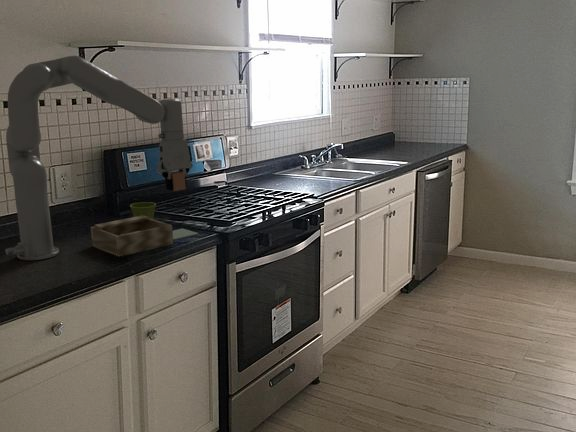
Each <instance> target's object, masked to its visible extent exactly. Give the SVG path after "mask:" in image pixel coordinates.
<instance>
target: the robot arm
mask: <svg viewBox="0 0 576 432" xmlns="http://www.w3.org/2000/svg"><path fill="white" fill-rule="evenodd" d="M71 84H73V85H74V86H76V87H78V88H79V89H82V90H84V91H86V92H87V93H89V94H90V95H91V96H92V95H93V97H96V98H98V99H99V100H101V101H104V102H105V103H107V104H110V105H113V106H116V107H119V108H121V109H123V110H125V111H127V112H129V113H131V114H133V115H134V116H135V117H136V119H137V120H139V121H141V122H143V123H146V124H151V125H155V124H156V125H157V124H159V123H160V133H158V135H157V137H158V138H159V139H160V141H159V147H158V166H157V168H155V169H156V170H155V171H156V173H158V174H159V175H161V176H162V177H163V179H164V180H165V187H166V190H167V191H172V192H174V191H173V181H172V179H171V174H172V171H182V172H185V186H186V187H187V177H188V173H189V172H190V170H191V169H192V168H193V167H194V164H193V163H192V161H191V155H190V149H189V144H188V141H187V138H185V134H184V121H183V106H182V101H181V100H180V99H179V98H164V99H161V100H158V99H155V98H153V97H151V96H149V95H148V94H147V93H144V92H143V91H141V90H139V89H138V88H135V87H134V86H131V85H130V84H128V83H127V82H125V81H123V80H121V79H120V78H117V77H116V76H115V75H113V74H111V73H109V72H108V71H106V70H104V69H103V68H101V67H99V66H97V65H96V64H94V63H93V62H91V61H90V60H87V59H86V58H83V57H81V56H79V55H67V56H65V57H60V58H56V59H55V58H54V59H50V60H46V61H41V62H35V63H34V62H33V63H30V64H28V65H26V66H25V67H24V68H23V69H22V70H21V71H20V72H19V73H18V74H16V76H15V77H14V78H13V80H12V82H11V83H10V86H9V88H8V92H7V115H8V126H7V128H6V132H5V133H6V134H5V137H6V138H5V139H6V141H5V142H6V150H7V158H8V159H7V160H8V167H9V168H8V169H9V172H10V175H11V177H12V180H13V188H14V189H13V190H14V197H15V198H14V199H15V206H16V207H15V208H16V213H17V222H18V230H19V239H20V242H17V245H15V246H14V247H8V248H5V254H6V255H7V256H8V255H16V258H17V259H18V258H19V260H22V261H38V260H40V261H41V260H46V259H50V258H53V257H56V256H57V255H58V254H60V248H59V247H56V246H54V239H53V230H52V229H53V228H52V222H51V221H52V220H51V213H50V205H49V196H48V193H49V192H48V177H47V176H48V175H47V170H46V168H45V165H44V164H43V163H42V161H41V158H40V154H41V153H40V147H39V146H40V144H41V142H42V141H41V140H42V133H41V128H40V120H39V99H40V96H41V95H42V93H44V92H46V91H47V90H49V89H53V88H58V87H63V86H67V85H71Z"/></svg>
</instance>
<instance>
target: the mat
mask: <svg viewBox="0 0 576 432" xmlns="http://www.w3.org/2000/svg"><path fill="white" fill-rule="evenodd" d="M172 231H173V241H176V240H180V239H186V238H189V237H194V236H198V235H200V234H199V232H195V231H192V230H189V229H185V228H179V229H175V230H172Z"/></svg>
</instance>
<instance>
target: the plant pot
mask: <svg viewBox="0 0 576 432" xmlns="http://www.w3.org/2000/svg"><path fill="white" fill-rule="evenodd" d="M156 205H157V203H156V202H152V201H151V202H150V201H147V202H146V201H143V202H135V203H134V202H133V203H131V204H130V205H129V208H131V211H132V215H133V216H132V217H137V216H142V215H143V216H147V217H149V218H150V219H154V218H155V217H154V216H155V215H154V214H155V209H156ZM154 220H155V219H154Z"/></svg>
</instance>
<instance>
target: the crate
mask: <svg viewBox="0 0 576 432" xmlns="http://www.w3.org/2000/svg"><path fill="white" fill-rule="evenodd" d="M173 231H174V230H173V225H172V224H170V223H166V222H164V221H160V220H157V219H150V218H149V217H147V216H143V215H142V216H137V217H134V216H131V217H128V218H123V219H122V218H121V219H118V220H117V219H116V220H113V221H108V222H103V223H97V224H94V226H90V234H91V235H90V236H91V243H92V247H94V248H96V249H98V250H101V251H102V252H106V253H109V254H111V255H113V254H114V256H115V255H116V257H118V256H119V257H118V258H120V256H121V257H125V256H129V255H133V254H138V253H141V252H145V251H150V250H153V249H158V248H163V247H167V246H171V245H174V240H173ZM137 252H138V253H137ZM124 255H125V256H124Z"/></svg>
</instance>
